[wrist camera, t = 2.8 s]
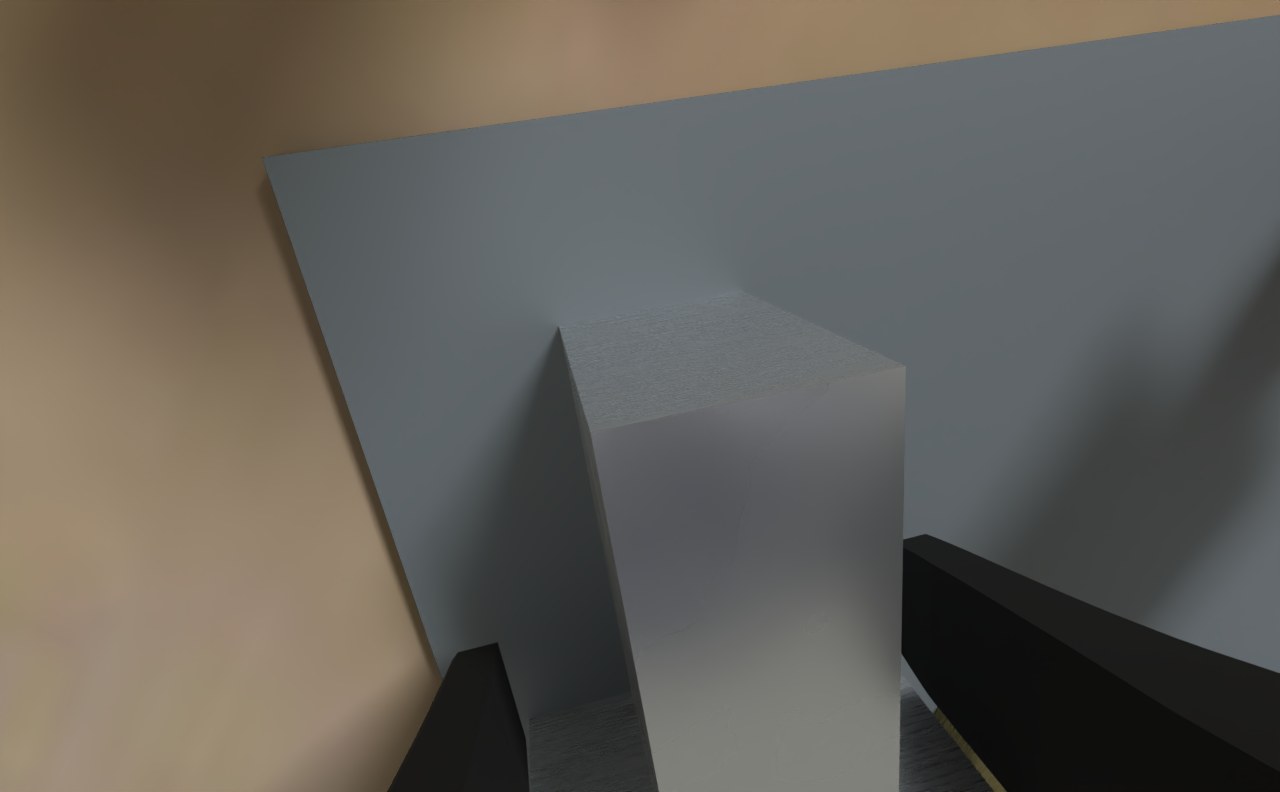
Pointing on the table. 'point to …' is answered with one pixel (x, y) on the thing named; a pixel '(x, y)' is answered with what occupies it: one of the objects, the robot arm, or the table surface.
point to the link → (746, 561)
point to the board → (839, 322)
